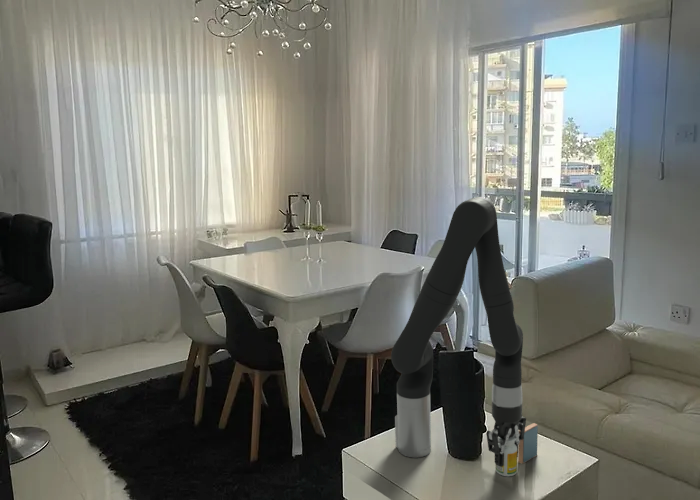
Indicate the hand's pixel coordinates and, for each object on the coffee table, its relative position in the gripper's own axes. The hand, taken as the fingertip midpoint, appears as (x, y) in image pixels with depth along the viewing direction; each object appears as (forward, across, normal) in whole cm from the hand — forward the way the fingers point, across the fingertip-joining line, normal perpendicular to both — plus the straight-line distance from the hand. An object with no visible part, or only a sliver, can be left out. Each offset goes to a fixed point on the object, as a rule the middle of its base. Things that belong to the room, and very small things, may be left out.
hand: (506, 460), depth 150 cm
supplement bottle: (+3, 0, 0) cm, 3 cm away
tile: (+3, -10, -1) cm, 10 cm away
